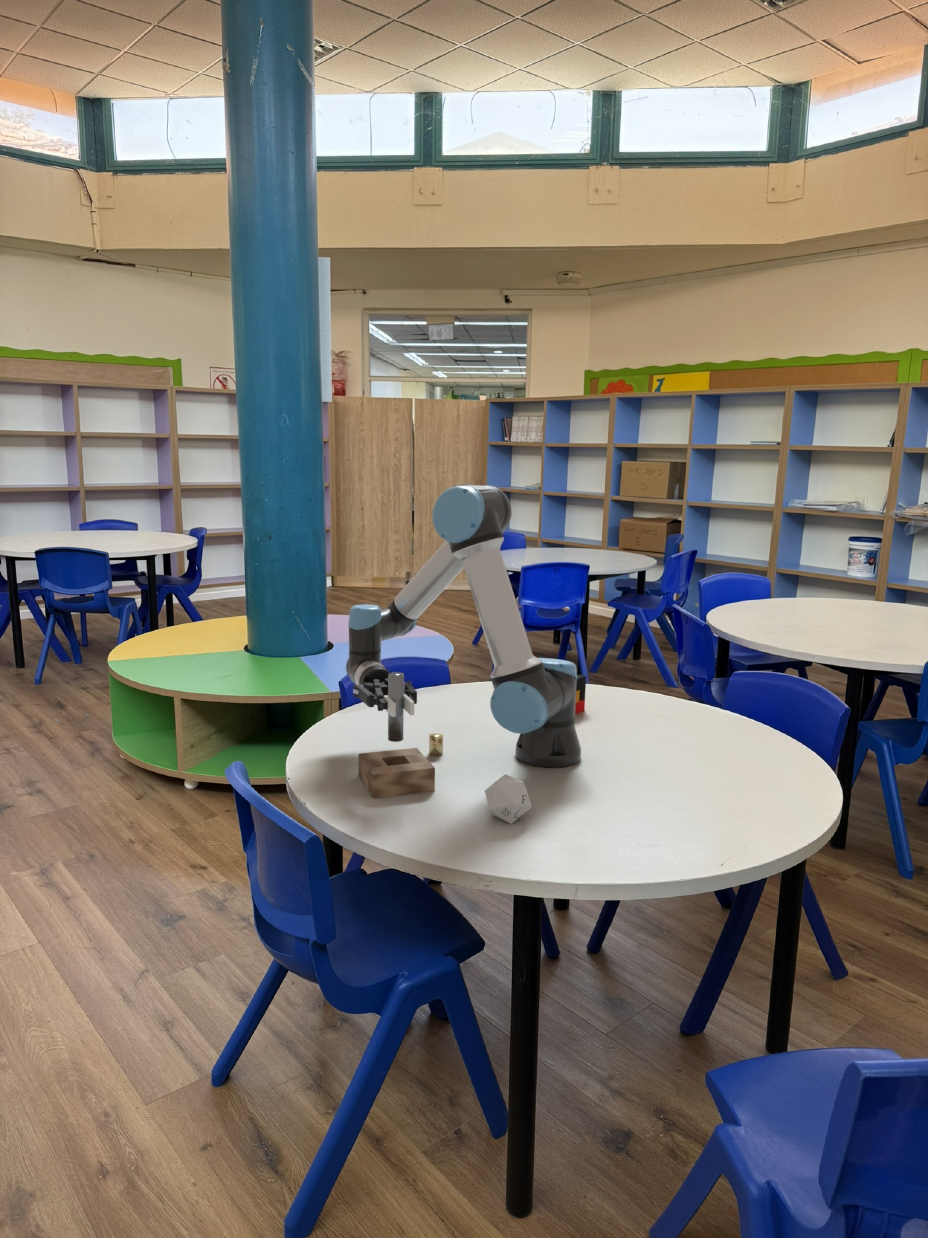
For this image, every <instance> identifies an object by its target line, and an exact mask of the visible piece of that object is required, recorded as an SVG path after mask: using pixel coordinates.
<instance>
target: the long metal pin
mask: <svg viewBox="0 0 928 1238" xmlns="http://www.w3.org/2000/svg"><path fill="white" fill-rule="evenodd" d="M404 683H405V674H404V673H403V672H401V671H399V672H398V671H392V672H390V673H389V674H388V697H390V698H391V699H392V700H393V701H394V702H395V703H396V717H392V716H391V715H390V714H389V713H388V712H387V740H388V741H389V742H392V743H393V742H395V743H398V742H402V741H404V718H405V717H404V716H405V715H404V712H405V709H404Z"/></svg>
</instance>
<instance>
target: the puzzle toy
mask: <svg viewBox="0 0 928 1238" xmlns="http://www.w3.org/2000/svg"><path fill="white" fill-rule="evenodd" d="M577 677H578V678H577V684H576V704H575V716H576V715H578V714H581V713H582V712H584V711H585V709H586V708H585V707H586V687H587V686H586V684H587V682H586V681H587V675H583V674H577Z"/></svg>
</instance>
